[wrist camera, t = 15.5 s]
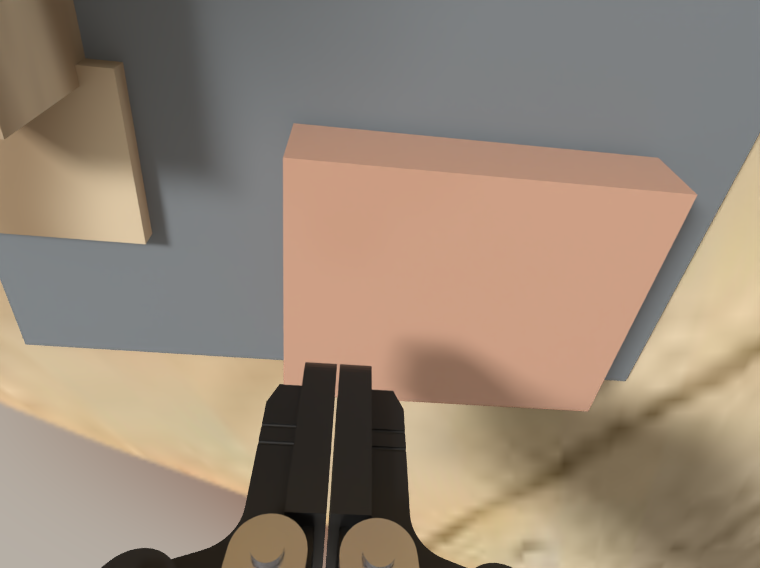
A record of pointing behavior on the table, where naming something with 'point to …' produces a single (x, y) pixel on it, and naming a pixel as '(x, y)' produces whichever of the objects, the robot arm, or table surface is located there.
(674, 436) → the table surface
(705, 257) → the table surface
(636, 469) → the table surface
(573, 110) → the mat
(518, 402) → the tile
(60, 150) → the beige pillar on base
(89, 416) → the table surface
